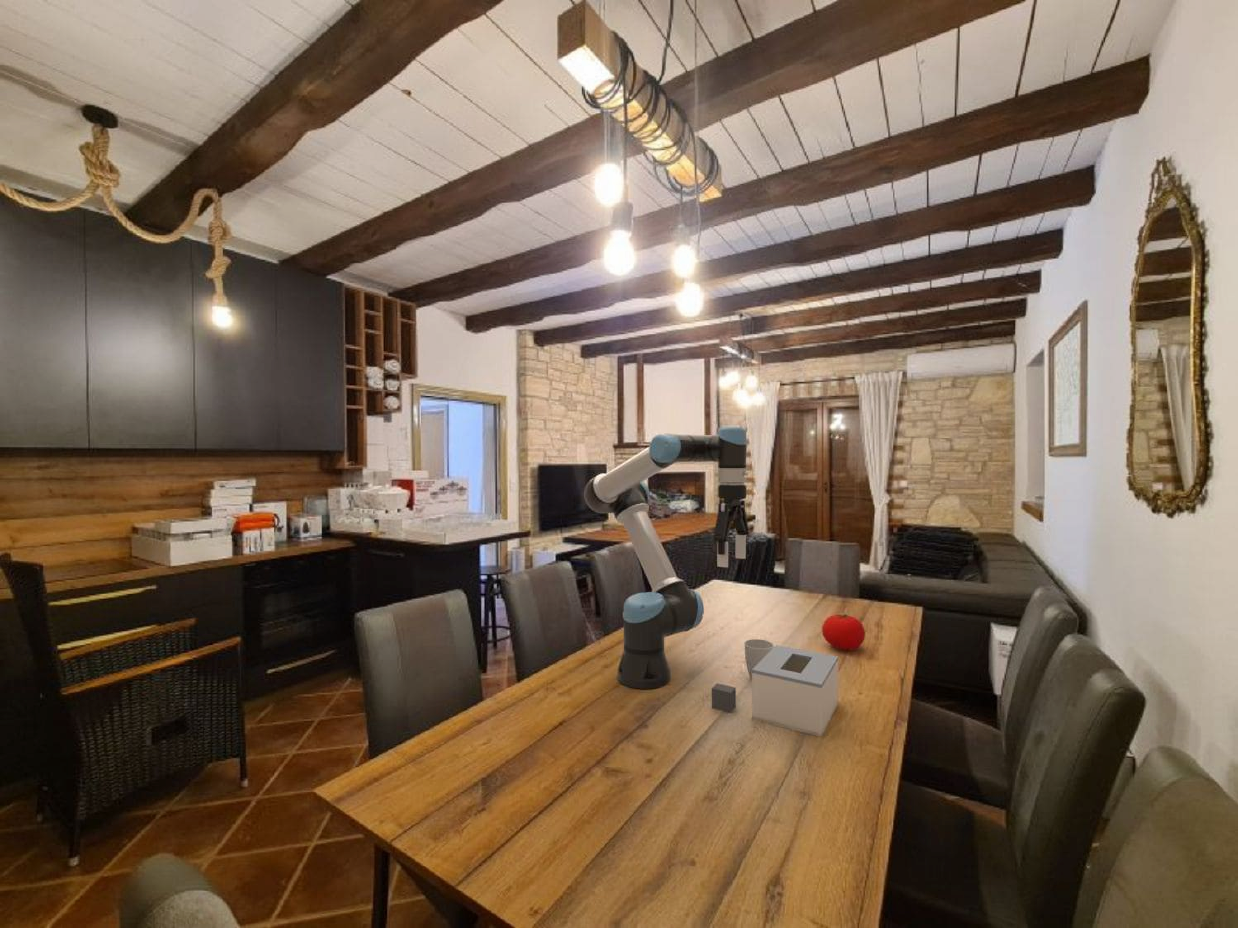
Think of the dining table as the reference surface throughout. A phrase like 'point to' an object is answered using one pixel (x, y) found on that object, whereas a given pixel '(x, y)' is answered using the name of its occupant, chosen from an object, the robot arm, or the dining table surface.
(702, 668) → the dining table surface
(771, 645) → the cup
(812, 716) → the box
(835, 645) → the tomato
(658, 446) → the robot arm
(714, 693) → the block
